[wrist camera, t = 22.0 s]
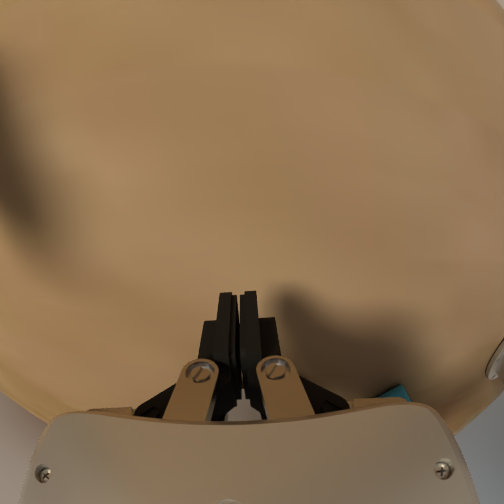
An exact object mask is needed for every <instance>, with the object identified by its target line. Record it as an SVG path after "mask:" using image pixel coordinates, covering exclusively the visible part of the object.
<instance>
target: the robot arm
mask: <svg viewBox="0 0 504 504" xmlns="http://www.w3.org/2000/svg"><path fill="white" fill-rule="evenodd" d="M242 375H243V383H244V391H245V398H246V399H250V406H251V407H252V408H254V409H255V410H257V411H258V412H259V414H260V419H261V420H251V421H228V412H229V411H230V410H232V409H233V408H234V407H237V400H242ZM486 376H487V377H488V379H489V380H494V379H496V378H498V377H500V379H501V380H502V382H503V383H504V340H503V342H502V343H501V344H500V346H499V347H498V349H497V350H496V352H495V353H494V355H493V357H492V358H491V360H490V362H489V364H488V367H487V370H486ZM18 504H480V502H479V499H478V496H477V492H476V489H475V485H474V483H473V480H472V477H471V475H470V472H469V470H468V467H467V464H466V462H465V459H464V457H463V454H462V452H461V450H460V448H459V446H458V444H457V442H456V440H455V438H454V436H453V434H452V432H451V430H450V429H449V427H448V425H447V424H446V422H445V421H444V419H443V418H442V416H441V415H440V414H439V413H438V412H437V411H436V410H435V409H434V408H432V407H431V406H428V405H426V404H422V403H417V402H408V401H407V400H405V399H403V398H401V397H388V398H360V399H353V401H346V400H345V399H343V398H342V397H340V396H338V395H336V394H334V393H332V392H330V391H328V390H326V389H324V388H322V387H320V386H318V385H316V384H314V383H312V382H310V381H308V380H306V379H305V378H303V377H301V376H299V375H298V373H297V370H296V368H295V366H294V364H293V362H292V361H291V360H289V359H288V358H286V357H283V356H281V352H280V346H279V340H278V334H277V327H276V321H275V317H269V318H258V307H257V295H256V291H245V295H240V323H239V314H238V304H237V295H232V292H226V293H220V296H219V304H218V312H217V320H215V321H204V325H203V331H202V337H201V342H200V348H199V354H198V359H196V360H193V361H191V362H188V363H187V364H186V365H185V366H184V368H183V369H182V371H181V374H180V376H179V378H178V381H177V383H176V384H174V385H172V386H171V387H169V388H168V389H166V390H164V391H163V392H161V393H159V394H158V395H156V396H154V397H153V398H151V399H150V400H148V401H146V402H144V403H143V404H141V405H140V406H139V407H137V409H132V407H122V408H101V409H89V410H87V411H75V412H68V413H64V414H61V415H58V416H56V417H55V418H53V419H52V420H51V421H50V423H49V424H48V425H47V427H46V429H45V430H44V432H43V433H42V435H41V437H40V439H39V441H38V444H37V446H36V449H35V451H34V453H33V456H32V458H31V461H30V464H29V467H28V470H27V473H26V476H25V479H24V483H23V486H22V490H21V493H20V498H19V502H18Z"/></svg>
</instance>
